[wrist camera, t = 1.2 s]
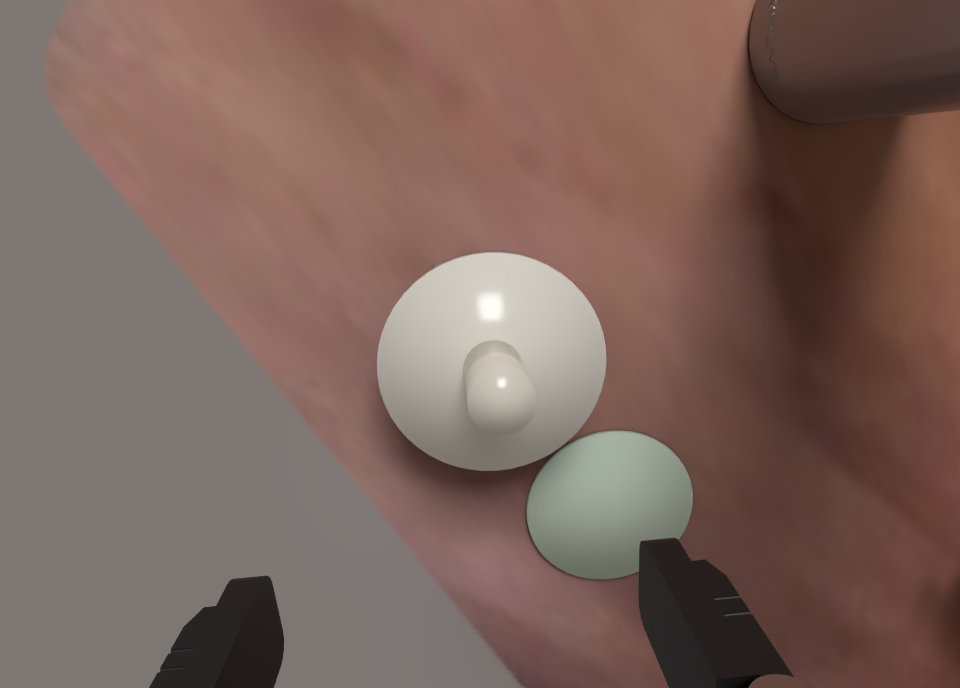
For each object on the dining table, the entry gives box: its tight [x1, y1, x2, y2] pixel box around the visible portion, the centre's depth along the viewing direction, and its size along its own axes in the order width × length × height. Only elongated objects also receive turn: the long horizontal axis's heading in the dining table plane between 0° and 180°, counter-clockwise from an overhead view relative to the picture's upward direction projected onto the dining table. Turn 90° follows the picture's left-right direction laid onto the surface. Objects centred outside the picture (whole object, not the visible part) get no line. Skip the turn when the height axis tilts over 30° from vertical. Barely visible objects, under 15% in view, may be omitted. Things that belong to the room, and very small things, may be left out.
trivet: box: [526, 430, 693, 579], centre depth 38 cm, size 11×11×1 cm
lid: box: [377, 251, 606, 471], centre depth 28 cm, size 12×12×5 cm
